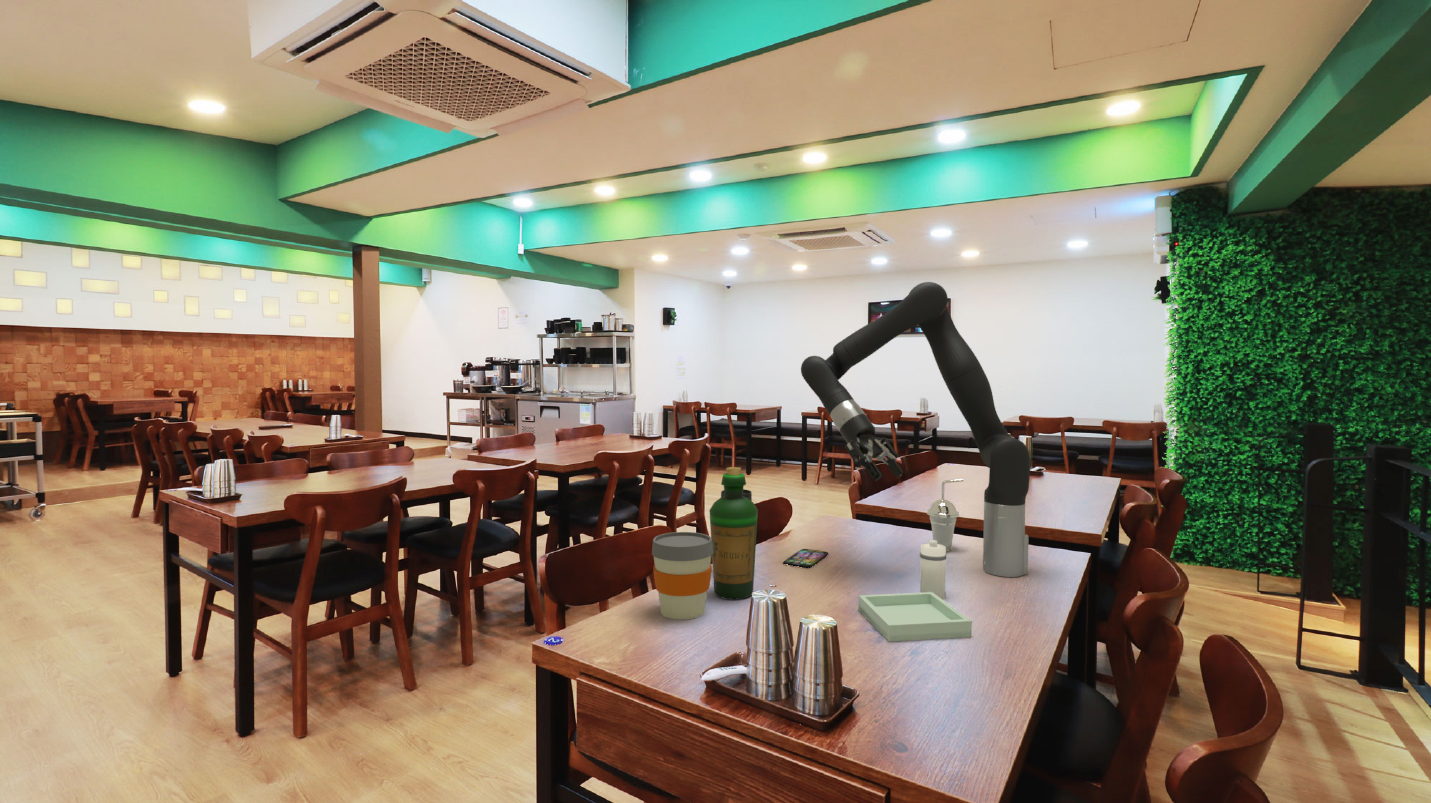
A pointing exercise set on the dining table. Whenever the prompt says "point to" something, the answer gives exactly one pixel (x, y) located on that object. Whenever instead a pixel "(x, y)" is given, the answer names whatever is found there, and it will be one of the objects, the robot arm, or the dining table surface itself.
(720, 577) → the bottle
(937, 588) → the white capped canister
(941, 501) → the cup with straw
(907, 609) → the pale green rectangular tray
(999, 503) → the robot arm
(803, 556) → the smartphone
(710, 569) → the reusable coffee cup
